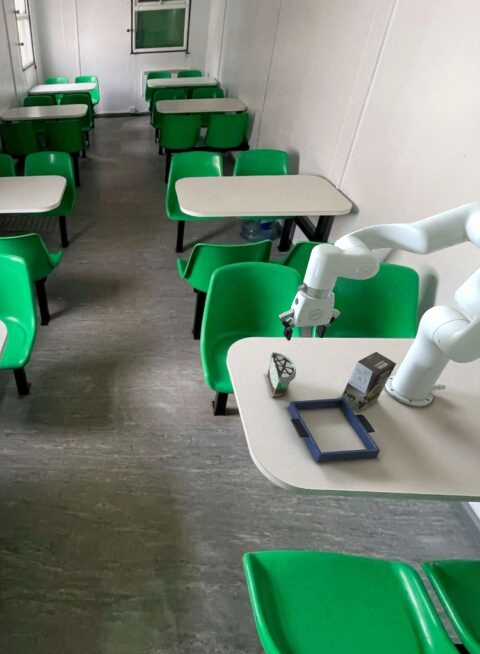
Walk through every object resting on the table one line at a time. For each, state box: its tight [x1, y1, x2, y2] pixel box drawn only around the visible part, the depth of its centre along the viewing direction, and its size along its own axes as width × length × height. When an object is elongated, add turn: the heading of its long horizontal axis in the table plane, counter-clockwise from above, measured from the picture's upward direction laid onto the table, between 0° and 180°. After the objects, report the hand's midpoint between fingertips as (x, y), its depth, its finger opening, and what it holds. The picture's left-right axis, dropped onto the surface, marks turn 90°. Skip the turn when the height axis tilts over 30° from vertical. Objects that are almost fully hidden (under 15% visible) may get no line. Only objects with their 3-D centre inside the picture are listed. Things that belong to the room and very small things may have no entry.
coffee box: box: [340, 351, 397, 412], centre depth 127 cm, size 9×6×16 cm
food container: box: [266, 352, 297, 399], centre depth 134 cm, size 12×6×10 cm, turn 172°
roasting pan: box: [287, 397, 382, 463], centre depth 121 cm, size 21×19×4 cm
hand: (302, 336), depth 125 cm, fingers open, 9 cm apart
